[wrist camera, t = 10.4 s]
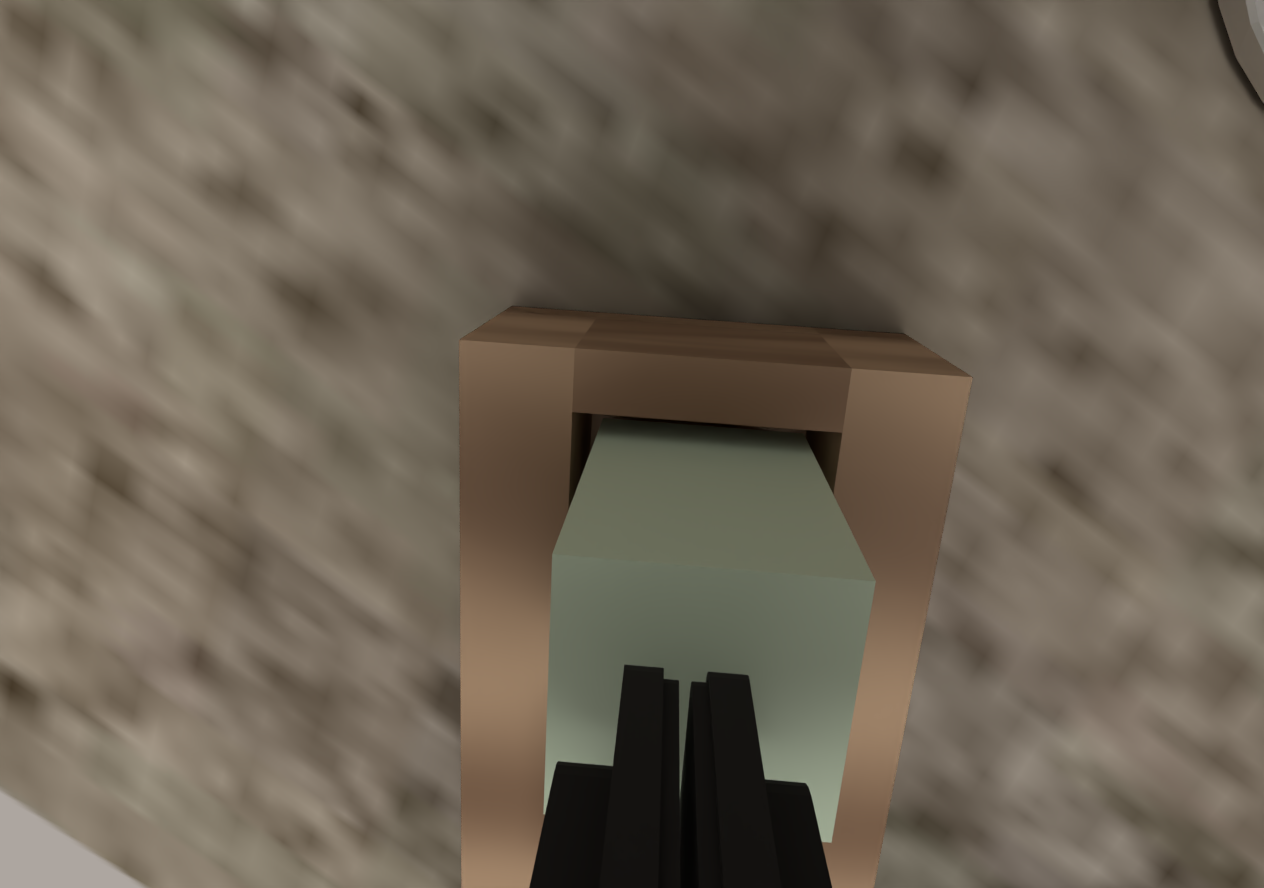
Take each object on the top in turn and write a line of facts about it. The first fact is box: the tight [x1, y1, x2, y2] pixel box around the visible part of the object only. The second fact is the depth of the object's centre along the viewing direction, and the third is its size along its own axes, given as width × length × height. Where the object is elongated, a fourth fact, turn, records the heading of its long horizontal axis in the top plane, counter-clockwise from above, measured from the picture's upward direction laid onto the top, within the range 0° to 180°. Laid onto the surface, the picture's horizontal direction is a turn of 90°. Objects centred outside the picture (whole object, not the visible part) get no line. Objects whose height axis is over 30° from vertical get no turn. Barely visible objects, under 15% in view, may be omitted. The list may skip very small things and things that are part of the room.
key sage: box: [543, 418, 876, 843], centre depth 15 cm, size 4×4×7 cm
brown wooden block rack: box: [459, 306, 973, 888], centre depth 21 cm, size 21×10×5 cm, turn 177°
